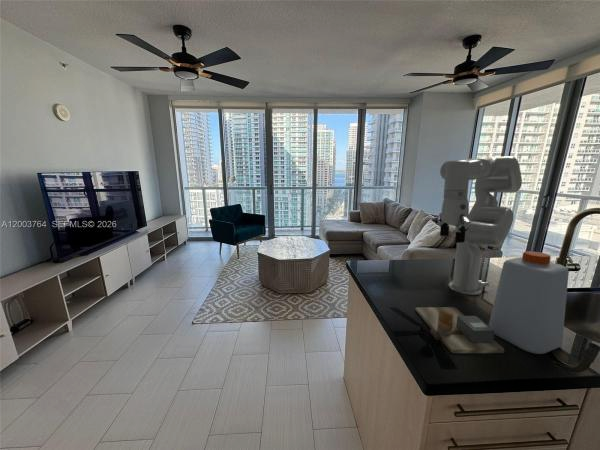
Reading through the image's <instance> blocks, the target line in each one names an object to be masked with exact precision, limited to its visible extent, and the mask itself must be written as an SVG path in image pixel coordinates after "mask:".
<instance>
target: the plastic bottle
mask: <svg viewBox="0 0 600 450" xmlns="http://www.w3.org/2000/svg"><path fill="white" fill-rule="evenodd" d="M569 273H570V271H569V269H568V268H567V266H564V265H562V264H560V263H555V262H551V255H549V254H547V253H545V252H539V251H531V250H529V251H527V250H526V251H524V252H523V253H522V256H521V257H520V256H519V257H515V258H511V259H506V260H504V261H503V265H502V269H501V272H500V276H499V280H498V285H497V289H496V294H495V297H494V300H493V301H494V302H493V306H492V309H491V313H490V314H491V315H490V319H489V322H488V326H489V327H490V328H492V329H493V330H494V335H495V336H496V337H498V338H501V339H503V340H504V341H506V342H508V343H509V344H512V345H514V346H515V347H518V348H519V349H521V350H523V351H525V352H527V353H531V354H534V355H543V354H547V353H549V352H552V351H554V350H556V349H558V348H560V347H562V346H563V340H564V330H565V329H564V328H565V327H564V326H565V319H566V318H565V317H566V305H567V292H568V284H569Z"/></svg>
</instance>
